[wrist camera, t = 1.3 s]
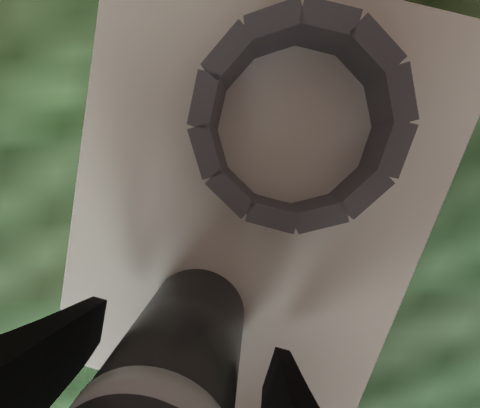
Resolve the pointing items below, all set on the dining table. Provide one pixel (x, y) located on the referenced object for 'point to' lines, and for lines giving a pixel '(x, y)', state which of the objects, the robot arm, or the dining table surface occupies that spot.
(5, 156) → the dining table surface
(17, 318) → the dining table surface
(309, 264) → the mount board
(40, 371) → the robot arm
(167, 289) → the lens
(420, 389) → the dining table surface
